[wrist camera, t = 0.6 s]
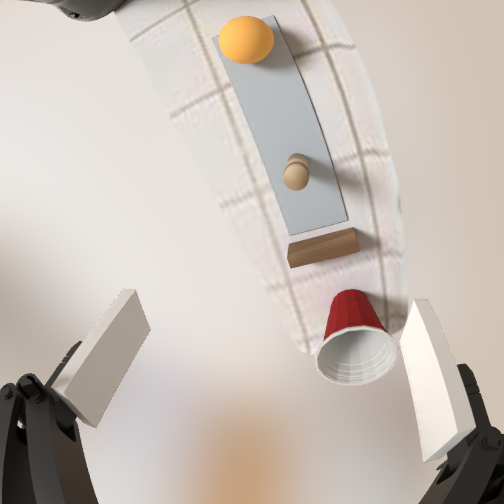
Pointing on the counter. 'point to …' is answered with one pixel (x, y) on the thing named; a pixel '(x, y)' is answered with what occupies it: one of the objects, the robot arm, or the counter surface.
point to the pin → (296, 172)
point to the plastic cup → (354, 342)
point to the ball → (246, 40)
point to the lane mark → (286, 134)
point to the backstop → (322, 248)
